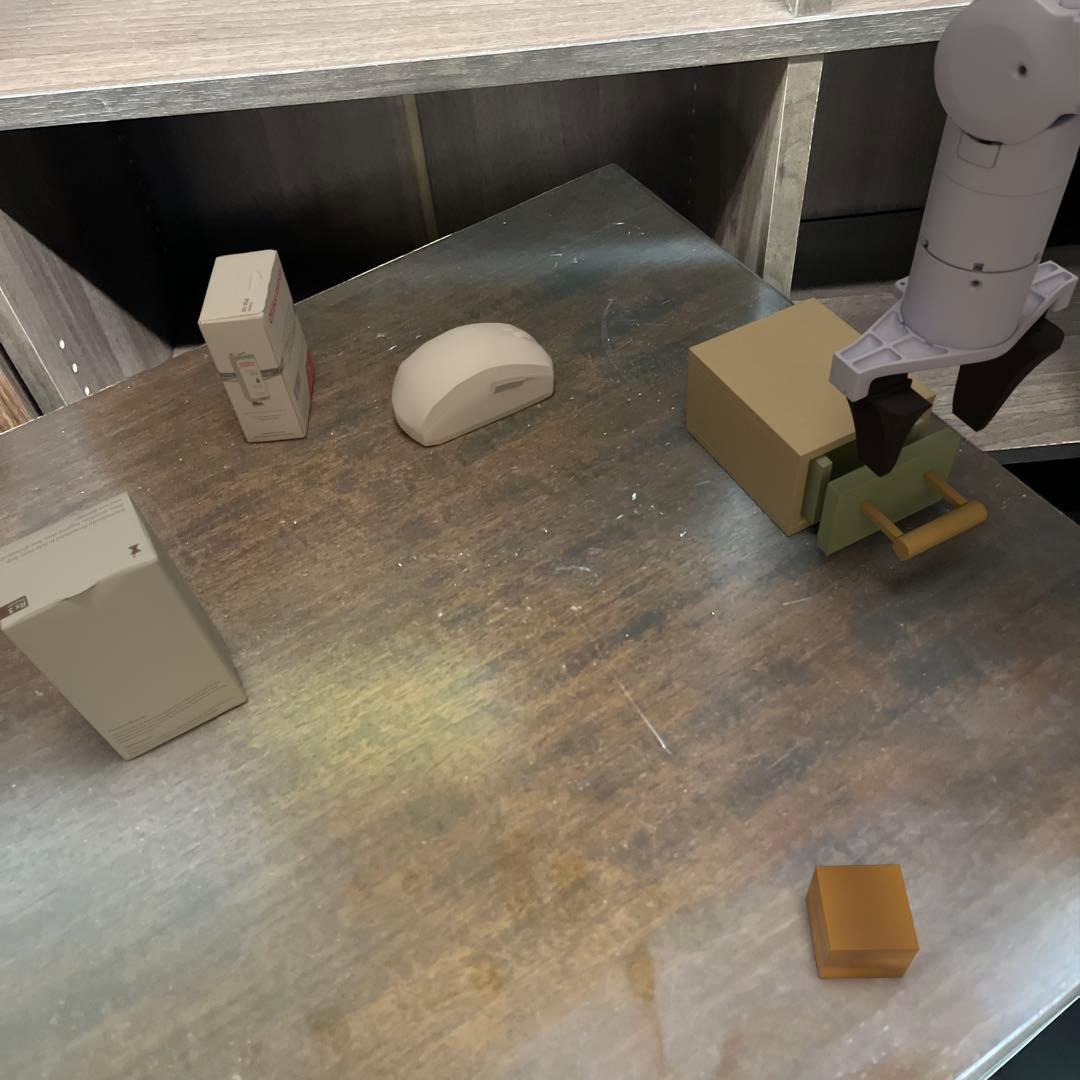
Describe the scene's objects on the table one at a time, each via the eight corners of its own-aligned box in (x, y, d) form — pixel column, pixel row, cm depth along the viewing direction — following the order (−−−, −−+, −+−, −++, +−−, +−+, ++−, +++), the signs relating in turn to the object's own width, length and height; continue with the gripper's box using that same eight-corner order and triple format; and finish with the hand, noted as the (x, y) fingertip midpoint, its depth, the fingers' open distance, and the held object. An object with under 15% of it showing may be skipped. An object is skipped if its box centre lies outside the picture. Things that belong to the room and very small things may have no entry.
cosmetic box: (223, 639, 65) (134, 481, 54) (252, 706, 61) (163, 552, 50) (97, 698, 63) (-23, 546, 51) (119, 772, 59) (-5, 625, 48)
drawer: (992, 545, 63) (1018, 482, 59) (875, 606, 61) (892, 545, 57) (832, 403, 73) (843, 341, 69) (725, 451, 71) (730, 389, 67)
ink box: (260, 374, 83) (213, 251, 74) (318, 368, 83) (278, 244, 74) (245, 445, 77) (193, 321, 68) (308, 439, 77) (263, 314, 68)
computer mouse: (565, 393, 78) (560, 328, 73) (416, 456, 75) (400, 393, 70) (527, 350, 82) (520, 286, 77) (383, 409, 79) (366, 345, 74)
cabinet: (912, 477, 69) (936, 394, 63) (787, 537, 66) (800, 456, 61) (801, 378, 77) (813, 296, 71) (685, 428, 74) (688, 347, 68)
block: (885, 895, 50) (899, 863, 47) (902, 977, 48) (919, 949, 45) (805, 896, 51) (815, 865, 48) (818, 978, 48) (829, 950, 45)
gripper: (1032, 159, 52) (968, 362, 62) (806, 248, 48) (778, 447, 59) (1143, 220, 48) (1055, 427, 58) (904, 322, 44) (855, 523, 54)
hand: (921, 442), depth 58 cm, fingers open, 6 cm apart
